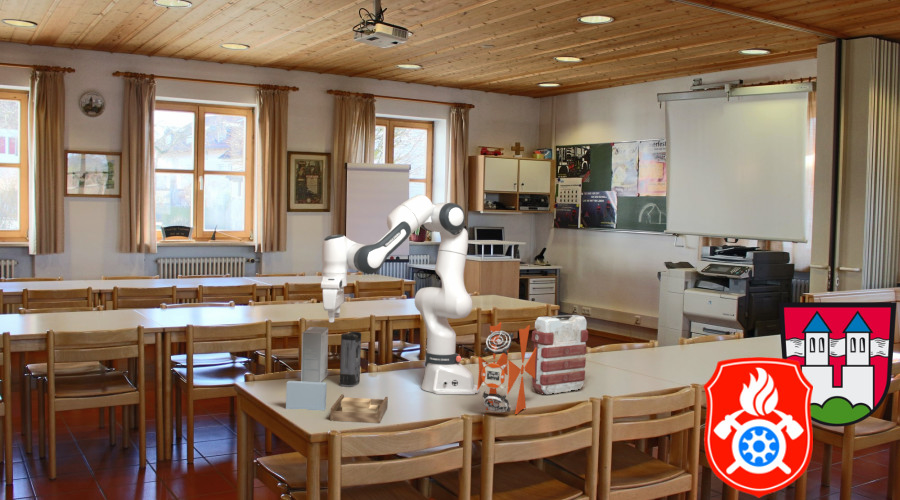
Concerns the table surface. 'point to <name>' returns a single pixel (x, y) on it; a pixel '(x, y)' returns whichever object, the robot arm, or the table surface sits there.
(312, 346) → the hard drive box
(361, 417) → the wooden tray
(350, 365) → the electronic device
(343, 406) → the offcut stack
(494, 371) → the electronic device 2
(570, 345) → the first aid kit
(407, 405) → the table surface
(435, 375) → the robot arm
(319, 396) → the blue-grey flat box
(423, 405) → the table surface
